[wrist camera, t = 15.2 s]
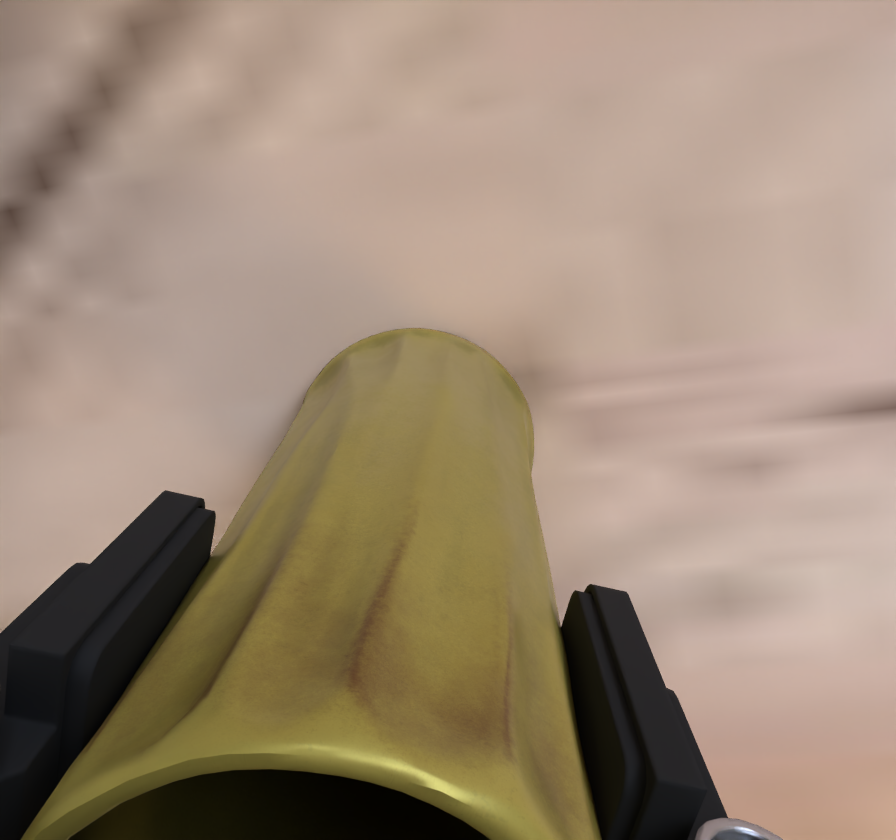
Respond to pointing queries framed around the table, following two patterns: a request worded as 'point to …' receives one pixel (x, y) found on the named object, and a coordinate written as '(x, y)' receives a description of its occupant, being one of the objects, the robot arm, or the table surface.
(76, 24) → the table surface
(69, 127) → the table surface
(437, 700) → the vase
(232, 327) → the table surface
